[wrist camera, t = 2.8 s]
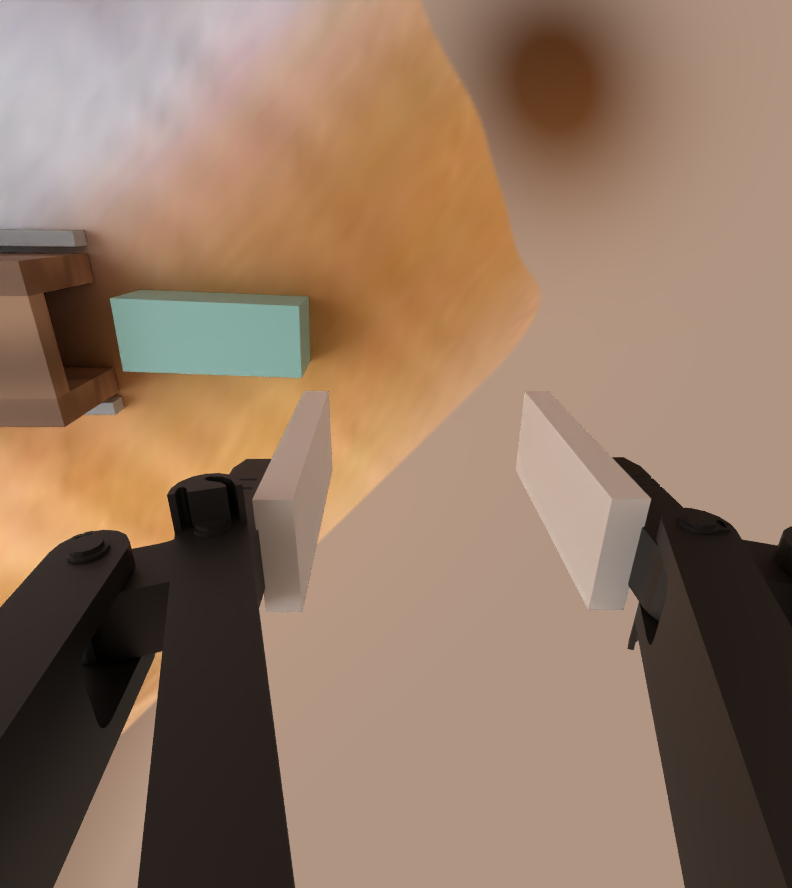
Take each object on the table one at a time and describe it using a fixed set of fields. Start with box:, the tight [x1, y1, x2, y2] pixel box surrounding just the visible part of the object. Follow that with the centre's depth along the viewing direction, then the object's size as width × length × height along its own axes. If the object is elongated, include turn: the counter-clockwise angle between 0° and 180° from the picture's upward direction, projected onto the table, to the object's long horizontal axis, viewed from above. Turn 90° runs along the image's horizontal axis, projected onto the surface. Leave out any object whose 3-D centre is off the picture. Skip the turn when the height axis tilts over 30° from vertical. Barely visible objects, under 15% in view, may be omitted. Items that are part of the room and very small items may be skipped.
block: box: [0, 252, 119, 427], centre depth 28 cm, size 8×8×6 cm
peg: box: [110, 289, 310, 378], centre depth 29 cm, size 4×10×4 cm, turn 87°
